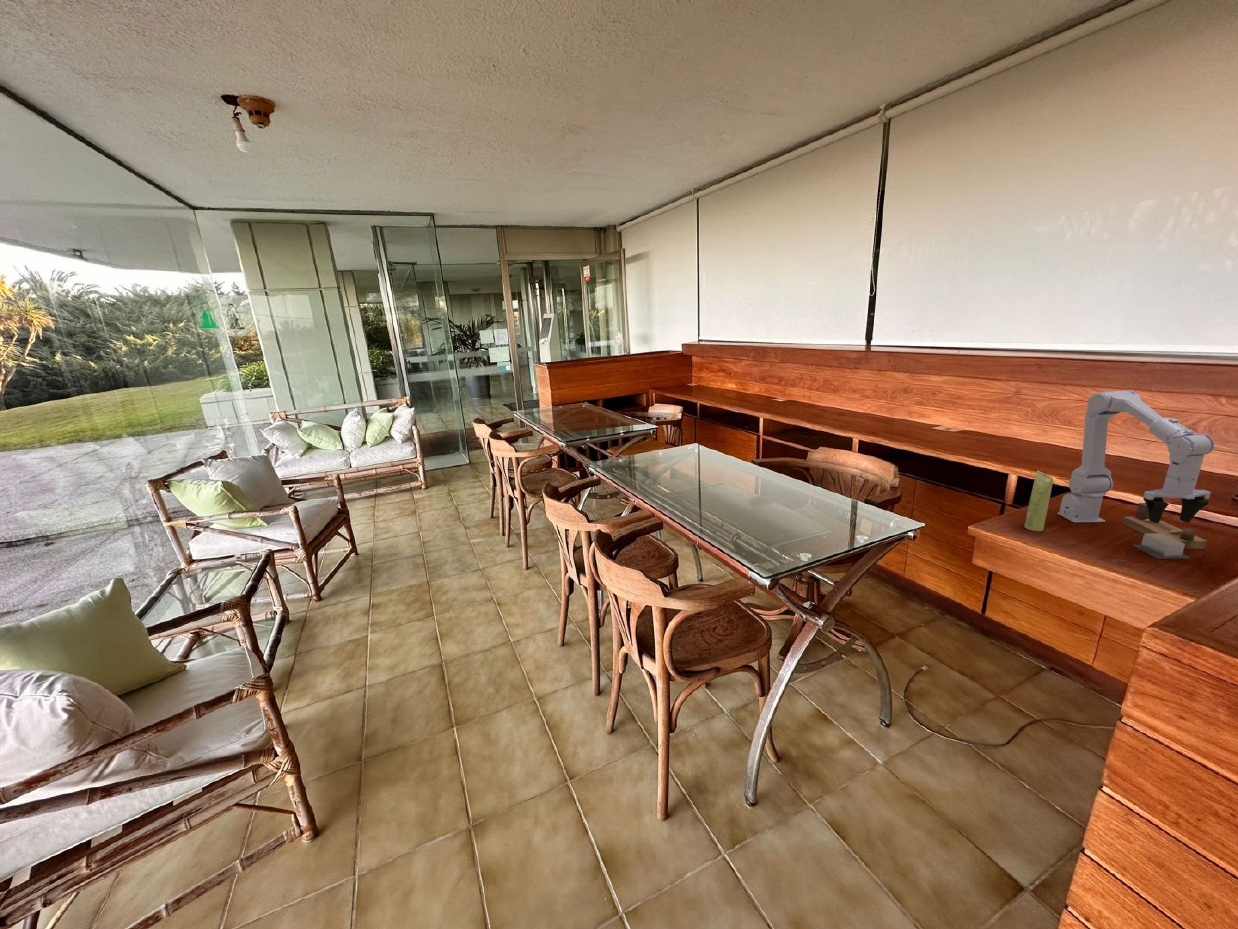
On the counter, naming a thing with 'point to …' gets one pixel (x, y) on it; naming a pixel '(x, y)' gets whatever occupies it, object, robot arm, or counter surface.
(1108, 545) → the counter surface
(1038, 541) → the counter surface
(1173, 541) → the lever cap
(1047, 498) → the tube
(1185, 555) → the rubber mat
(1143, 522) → the plane body
